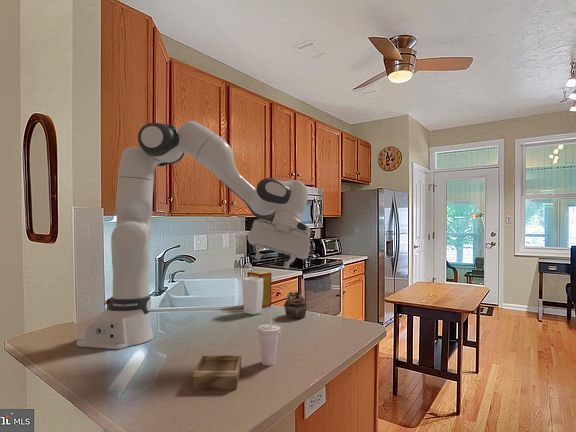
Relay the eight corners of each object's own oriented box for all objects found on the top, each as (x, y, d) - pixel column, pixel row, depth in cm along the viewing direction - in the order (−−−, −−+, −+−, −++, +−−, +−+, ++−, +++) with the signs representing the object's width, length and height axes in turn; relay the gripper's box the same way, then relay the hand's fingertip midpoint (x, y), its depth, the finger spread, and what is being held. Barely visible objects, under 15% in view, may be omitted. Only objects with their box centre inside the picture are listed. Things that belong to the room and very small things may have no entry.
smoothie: (277, 368, 90) (277, 315, 90) (253, 366, 91) (254, 314, 92) (282, 359, 96) (282, 309, 97) (260, 357, 98) (260, 308, 98)
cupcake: (311, 318, 139) (311, 293, 139) (290, 321, 135) (290, 295, 135) (299, 312, 148) (299, 289, 148) (279, 315, 143) (280, 291, 143)
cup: (250, 310, 151) (251, 276, 151) (264, 312, 147) (264, 278, 147) (240, 314, 144) (241, 279, 145) (255, 316, 141) (255, 280, 141)
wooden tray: (192, 389, 78) (193, 372, 78) (202, 371, 88) (202, 355, 88) (236, 389, 79) (236, 371, 79) (241, 370, 89) (241, 355, 89)
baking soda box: (271, 306, 159) (271, 271, 159) (260, 308, 154) (260, 273, 154) (258, 302, 165) (258, 269, 166) (247, 305, 161) (247, 271, 161)
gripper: (254, 212, 111) (239, 250, 106) (314, 229, 108) (302, 269, 102) (256, 221, 117) (242, 257, 111) (314, 237, 114) (302, 275, 108)
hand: (271, 263), depth 107 cm, fingers open, 8 cm apart
